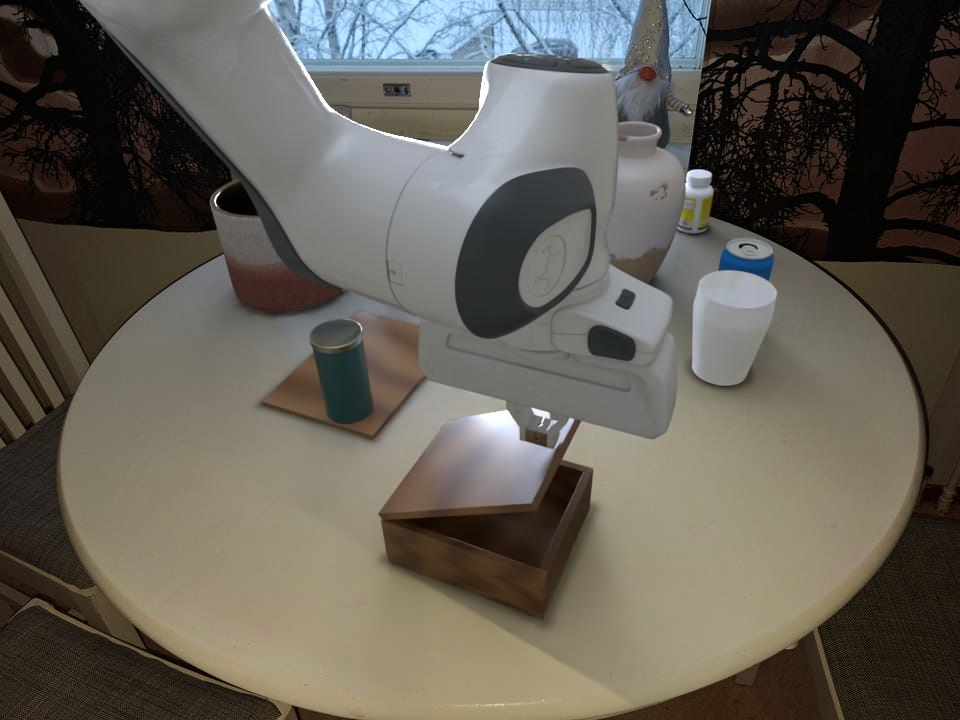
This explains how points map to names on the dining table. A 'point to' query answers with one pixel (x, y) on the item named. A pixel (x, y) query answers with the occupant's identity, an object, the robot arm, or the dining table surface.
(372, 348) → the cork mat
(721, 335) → the cup
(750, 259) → the beverage can
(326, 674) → the dining table surface
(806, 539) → the dining table surface
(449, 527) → the chest
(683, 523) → the dining table surface
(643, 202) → the vase
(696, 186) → the supplement bottle
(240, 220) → the planter
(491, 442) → the chest lid
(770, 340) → the dining table surface
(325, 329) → the tea tin
